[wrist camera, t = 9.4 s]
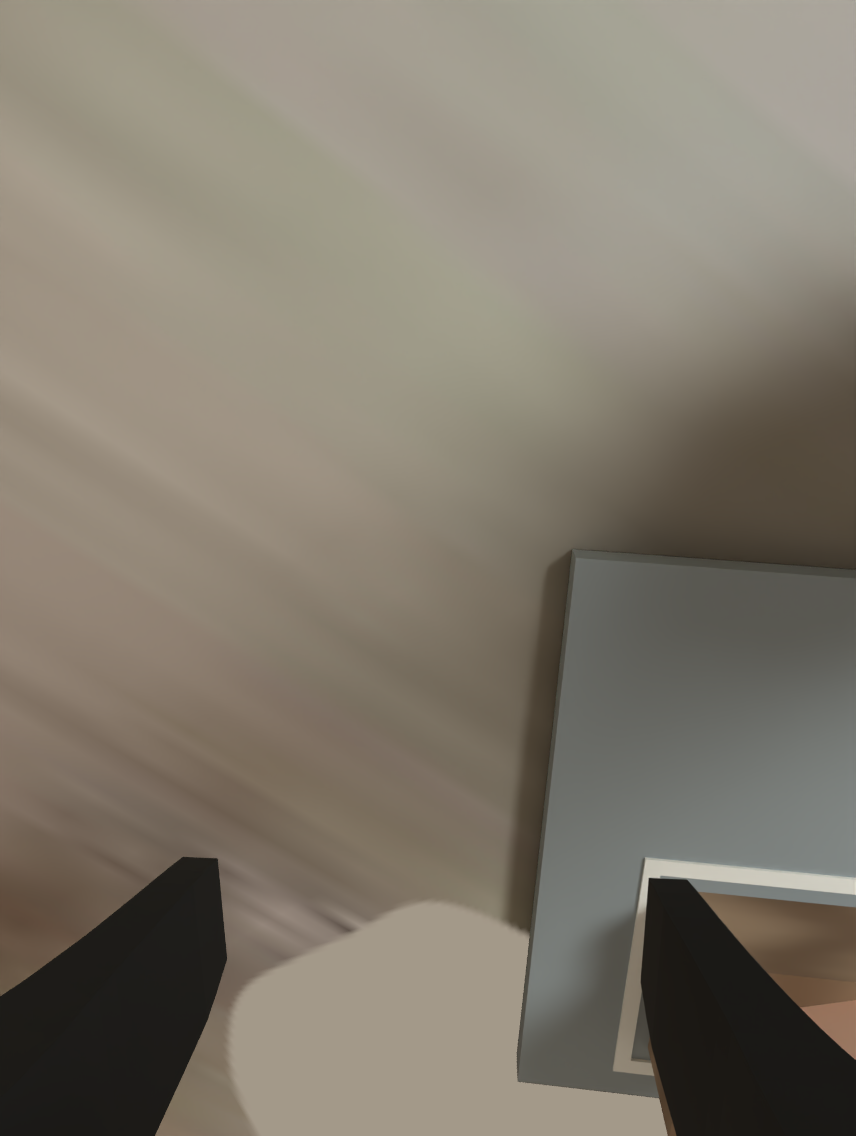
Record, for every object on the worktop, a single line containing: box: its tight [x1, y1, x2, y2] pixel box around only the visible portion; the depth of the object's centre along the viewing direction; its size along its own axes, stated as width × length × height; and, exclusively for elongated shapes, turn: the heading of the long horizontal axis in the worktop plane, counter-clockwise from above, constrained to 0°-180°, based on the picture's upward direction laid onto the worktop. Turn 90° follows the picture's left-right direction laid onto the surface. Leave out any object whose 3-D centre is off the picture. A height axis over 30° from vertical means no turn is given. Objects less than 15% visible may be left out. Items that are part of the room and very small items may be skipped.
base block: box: [648, 892, 856, 1136], centre depth 22 cm, size 6×6×3 cm
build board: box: [517, 549, 856, 1098], centre depth 23 cm, size 12×18×1 cm, turn 177°
